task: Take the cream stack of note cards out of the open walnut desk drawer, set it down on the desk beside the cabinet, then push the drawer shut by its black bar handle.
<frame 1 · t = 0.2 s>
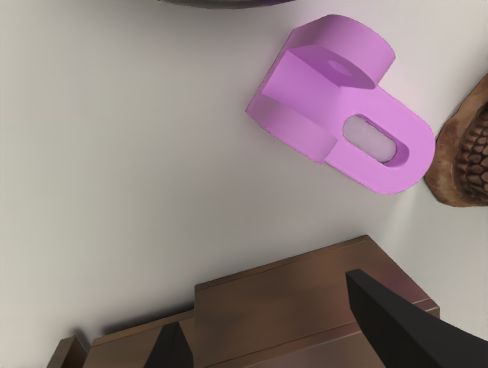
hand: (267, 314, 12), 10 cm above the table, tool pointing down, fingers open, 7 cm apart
cabinet: (296, 320, 26), on the table
bracket: (345, 124, 21), on the table
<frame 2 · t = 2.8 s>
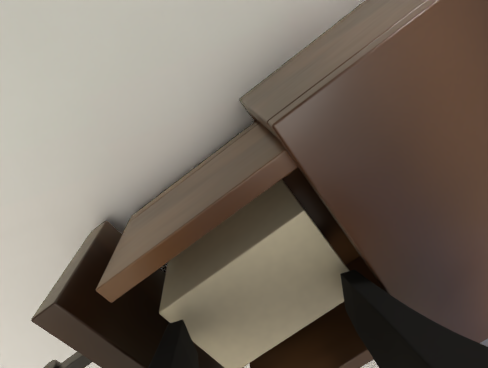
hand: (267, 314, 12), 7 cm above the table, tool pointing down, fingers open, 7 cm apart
cabinet: (407, 117, 17), on the table
card stack: (250, 250, 17), point 2 cm above the table, touching drawer
drawer: (224, 295, 15), point 4 cm above the table, slide at 9.5 cm, touching card stack
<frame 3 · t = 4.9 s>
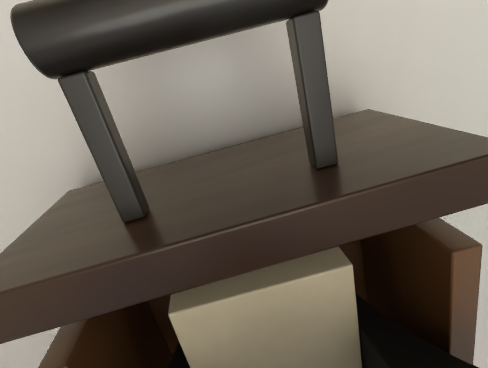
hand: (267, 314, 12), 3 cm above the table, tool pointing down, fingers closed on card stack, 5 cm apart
card stack: (260, 293, 13), point 2 cm above the table, touching drawer, gripper
drawer: (258, 285, 10), point 4 cm above the table, slide at 10.0 cm, touching card stack
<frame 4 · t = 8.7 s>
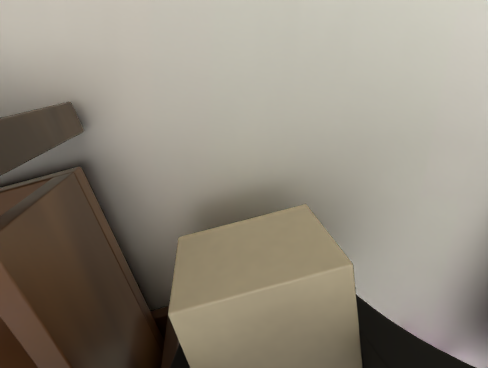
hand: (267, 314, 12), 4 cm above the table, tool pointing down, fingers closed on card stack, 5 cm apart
card stack: (261, 292, 13), point 3 cm above the table, touching gripper
when the fingers open (4 cm above the table, at t = 11.2 s): card stack drops 3 cm, on the table.
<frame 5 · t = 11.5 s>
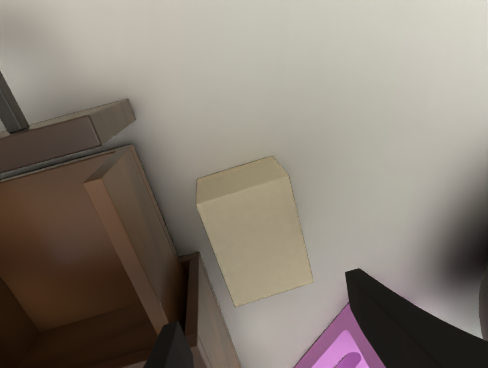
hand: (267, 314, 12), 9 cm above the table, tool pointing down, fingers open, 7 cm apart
cabinet: (145, 347, 24), on the table
card stack: (249, 215, 21), on the table
drawer: (28, 220, 15), point 4 cm above the table, slide at 10.0 cm
bracket: (342, 344, 27), on the table
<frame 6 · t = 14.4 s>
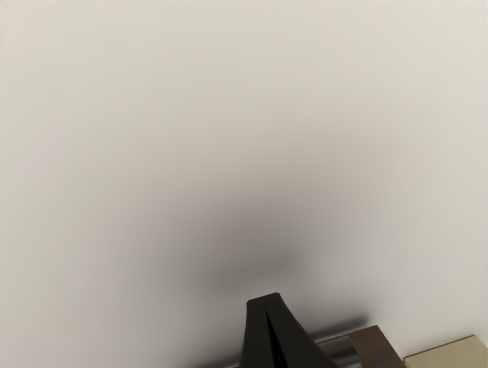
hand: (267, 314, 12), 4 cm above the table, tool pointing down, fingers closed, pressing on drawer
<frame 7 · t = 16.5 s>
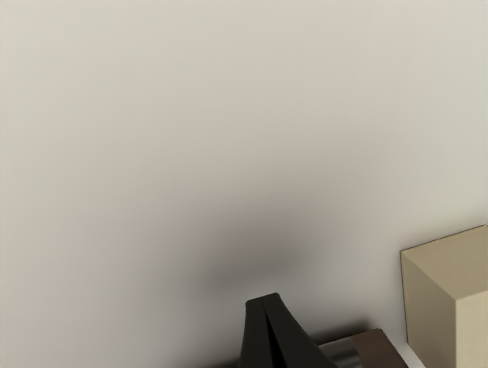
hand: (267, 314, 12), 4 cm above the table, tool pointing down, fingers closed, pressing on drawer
card stack: (444, 288, 18), on the table
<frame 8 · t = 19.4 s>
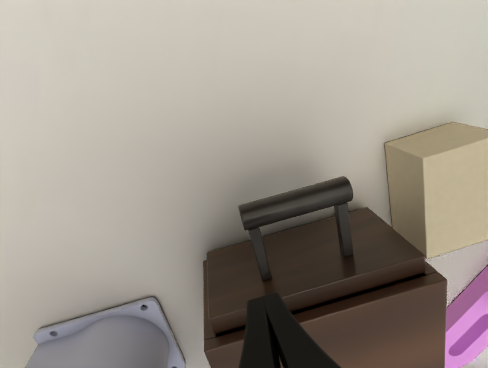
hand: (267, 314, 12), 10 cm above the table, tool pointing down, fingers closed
cabinet: (302, 306, 26), on the table
card stack: (420, 179, 23), on the table
drawer: (310, 303, 20), point 4 cm above the table, slide at 0.0 cm, touching cabinet
bracket: (471, 308, 29), on the table
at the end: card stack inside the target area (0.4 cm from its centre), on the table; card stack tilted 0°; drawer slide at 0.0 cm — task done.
